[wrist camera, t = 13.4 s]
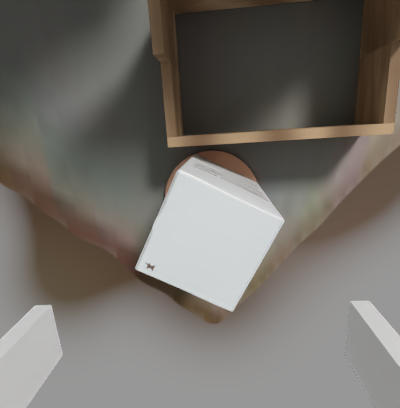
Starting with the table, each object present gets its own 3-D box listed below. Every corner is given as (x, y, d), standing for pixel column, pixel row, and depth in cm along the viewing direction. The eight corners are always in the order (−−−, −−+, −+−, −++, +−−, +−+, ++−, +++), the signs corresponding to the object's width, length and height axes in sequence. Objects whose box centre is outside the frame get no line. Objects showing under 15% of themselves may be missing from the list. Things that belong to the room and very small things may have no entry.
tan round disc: (170, 242, 38) (169, 244, 37) (161, 153, 35) (160, 153, 34) (259, 239, 37) (260, 241, 36) (258, 147, 34) (259, 147, 33)
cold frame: (176, 144, 34) (162, 149, 26) (165, 4, 31) (143, -44, 22) (362, 132, 33) (413, 134, 24) (375, -17, 29) (442, -80, 20)
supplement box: (227, 243, 37) (232, 317, 22) (165, 215, 36) (130, 272, 22) (260, 182, 34) (289, 221, 20) (194, 150, 34) (175, 167, 20)
